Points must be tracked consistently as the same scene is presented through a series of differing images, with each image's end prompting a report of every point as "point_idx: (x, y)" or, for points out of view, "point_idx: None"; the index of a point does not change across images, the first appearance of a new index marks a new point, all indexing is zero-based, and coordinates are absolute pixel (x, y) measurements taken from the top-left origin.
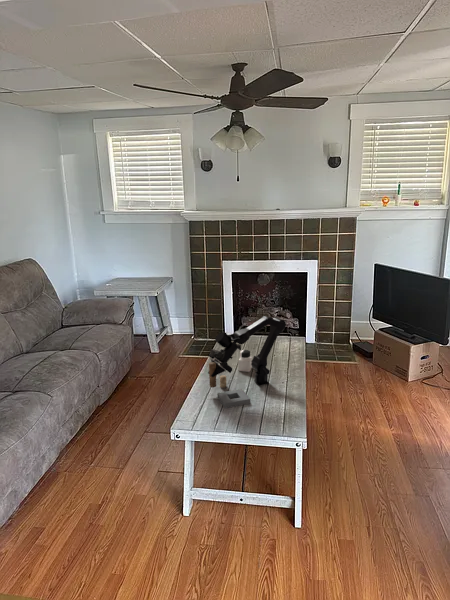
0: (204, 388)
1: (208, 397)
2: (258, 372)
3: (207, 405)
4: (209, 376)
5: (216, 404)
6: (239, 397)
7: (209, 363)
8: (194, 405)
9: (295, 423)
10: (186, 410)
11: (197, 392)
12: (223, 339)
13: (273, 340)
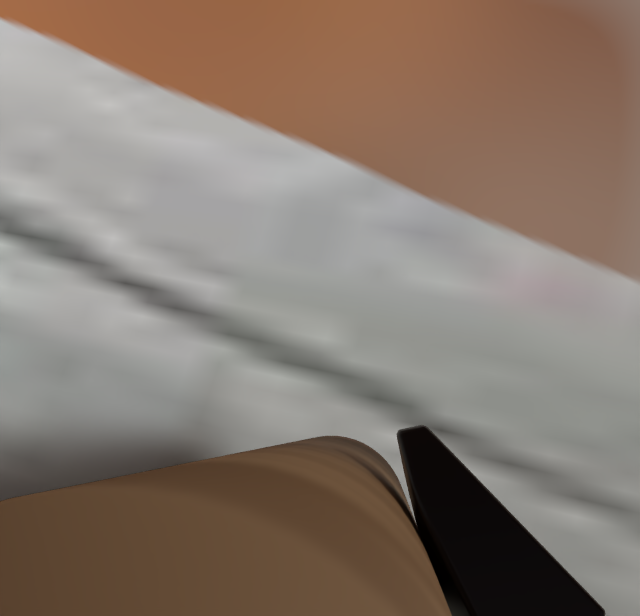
0: (599, 394)
1: (270, 390)
2: None
3: (47, 324)
4: (292, 442)
5: (26, 458)
6: None
7: (226, 596)
8: (111, 155)
9: None
10: (28, 45)
11: (482, 257)
12: None
13: None
